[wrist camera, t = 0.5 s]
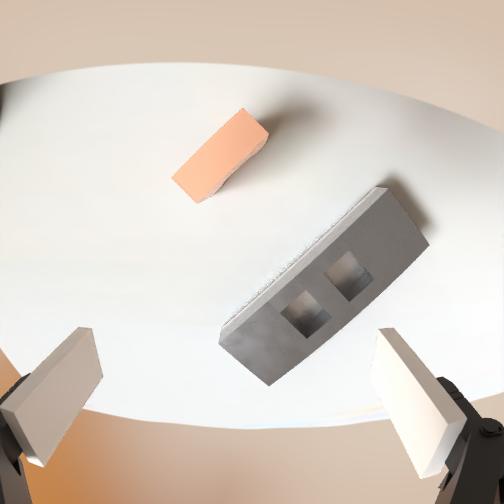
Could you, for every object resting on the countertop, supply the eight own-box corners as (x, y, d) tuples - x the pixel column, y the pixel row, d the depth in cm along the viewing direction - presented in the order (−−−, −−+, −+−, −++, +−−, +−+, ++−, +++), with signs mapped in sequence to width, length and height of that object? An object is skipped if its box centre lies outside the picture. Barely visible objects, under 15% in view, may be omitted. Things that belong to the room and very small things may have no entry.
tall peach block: (191, 177, 34) (171, 177, 25) (245, 125, 33) (242, 107, 24) (211, 197, 34) (196, 203, 26) (265, 145, 33) (269, 133, 24)
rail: (221, 327, 38) (218, 343, 34) (374, 186, 34) (388, 188, 30) (267, 367, 39) (269, 386, 35) (413, 238, 35) (429, 245, 31)
